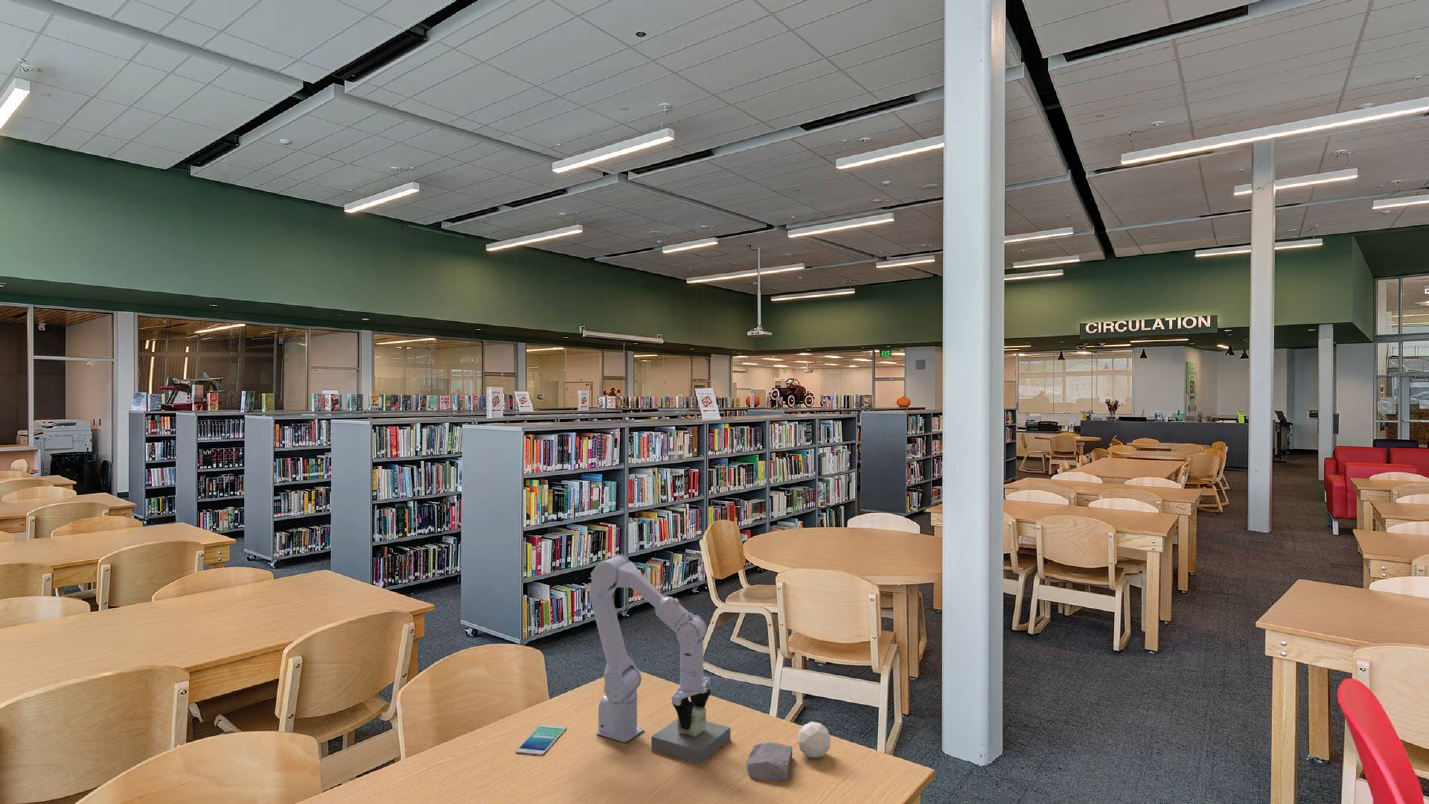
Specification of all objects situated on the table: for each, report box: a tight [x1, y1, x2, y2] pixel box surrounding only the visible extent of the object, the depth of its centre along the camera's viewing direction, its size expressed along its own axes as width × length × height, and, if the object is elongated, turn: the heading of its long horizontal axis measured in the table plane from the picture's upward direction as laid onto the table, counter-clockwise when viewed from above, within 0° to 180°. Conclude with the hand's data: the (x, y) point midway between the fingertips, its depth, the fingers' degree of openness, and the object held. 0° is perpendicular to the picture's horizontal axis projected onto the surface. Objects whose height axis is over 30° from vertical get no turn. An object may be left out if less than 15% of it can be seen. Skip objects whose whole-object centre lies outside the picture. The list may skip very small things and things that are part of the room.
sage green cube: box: [677, 705, 707, 737], centre depth 173 cm, size 5×5×5 cm
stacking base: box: [650, 718, 731, 765], centre depth 173 cm, size 14×14×3 cm
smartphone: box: [515, 723, 568, 756], centre depth 175 cm, size 8×1×15 cm
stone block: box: [746, 741, 793, 782], centre depth 162 cm, size 12×5×10 cm
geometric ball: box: [797, 721, 832, 760], centre depth 167 cm, size 8×8×8 cm
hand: (691, 724), depth 173 cm, fingers closed on sage green cube, 5 cm apart
